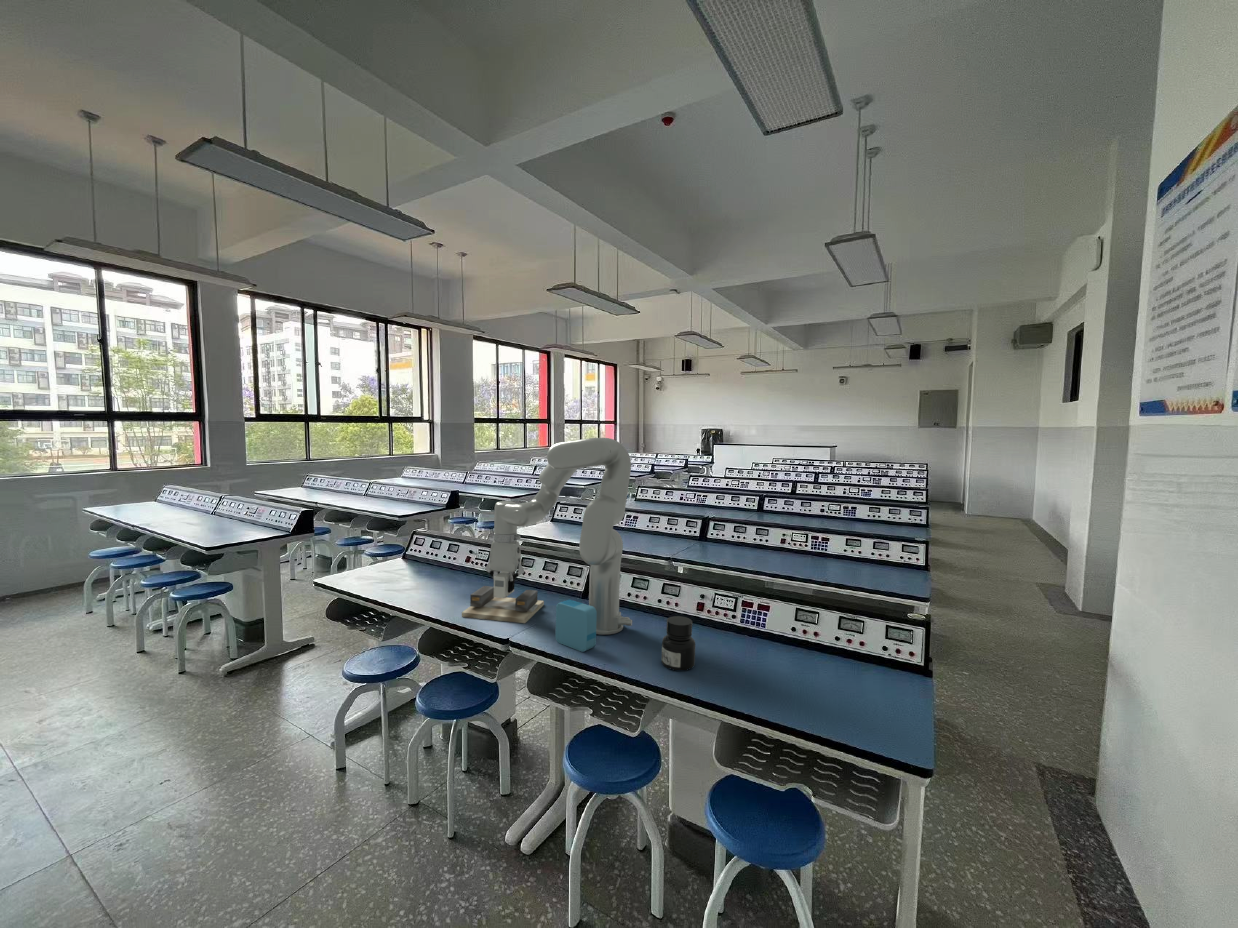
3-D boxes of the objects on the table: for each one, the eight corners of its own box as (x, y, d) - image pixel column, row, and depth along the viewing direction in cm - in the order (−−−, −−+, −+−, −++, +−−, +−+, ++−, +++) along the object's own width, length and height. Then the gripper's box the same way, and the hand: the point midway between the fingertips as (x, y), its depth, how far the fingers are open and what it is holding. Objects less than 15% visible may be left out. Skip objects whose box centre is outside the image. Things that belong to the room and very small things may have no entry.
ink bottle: (655, 658, 139) (656, 616, 138) (683, 654, 142) (685, 612, 141) (671, 674, 130) (672, 629, 129) (701, 670, 133) (703, 625, 132)
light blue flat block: (596, 648, 144) (597, 607, 143) (585, 653, 141) (586, 611, 140) (565, 637, 152) (566, 598, 151) (555, 641, 148) (555, 601, 147)
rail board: (543, 604, 179) (544, 587, 179) (525, 623, 162) (525, 603, 161) (485, 599, 183) (486, 582, 183) (461, 616, 166) (461, 597, 165)
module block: (514, 591, 176) (514, 571, 175) (504, 598, 168) (505, 577, 167) (503, 589, 176) (503, 570, 176) (493, 597, 168) (493, 576, 168)
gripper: (532, 537, 173) (531, 589, 174) (487, 533, 176) (486, 585, 177) (524, 541, 166) (523, 596, 167) (477, 538, 169) (476, 591, 170)
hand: (504, 590), depth 172 cm, fingers closed on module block, 4 cm apart
